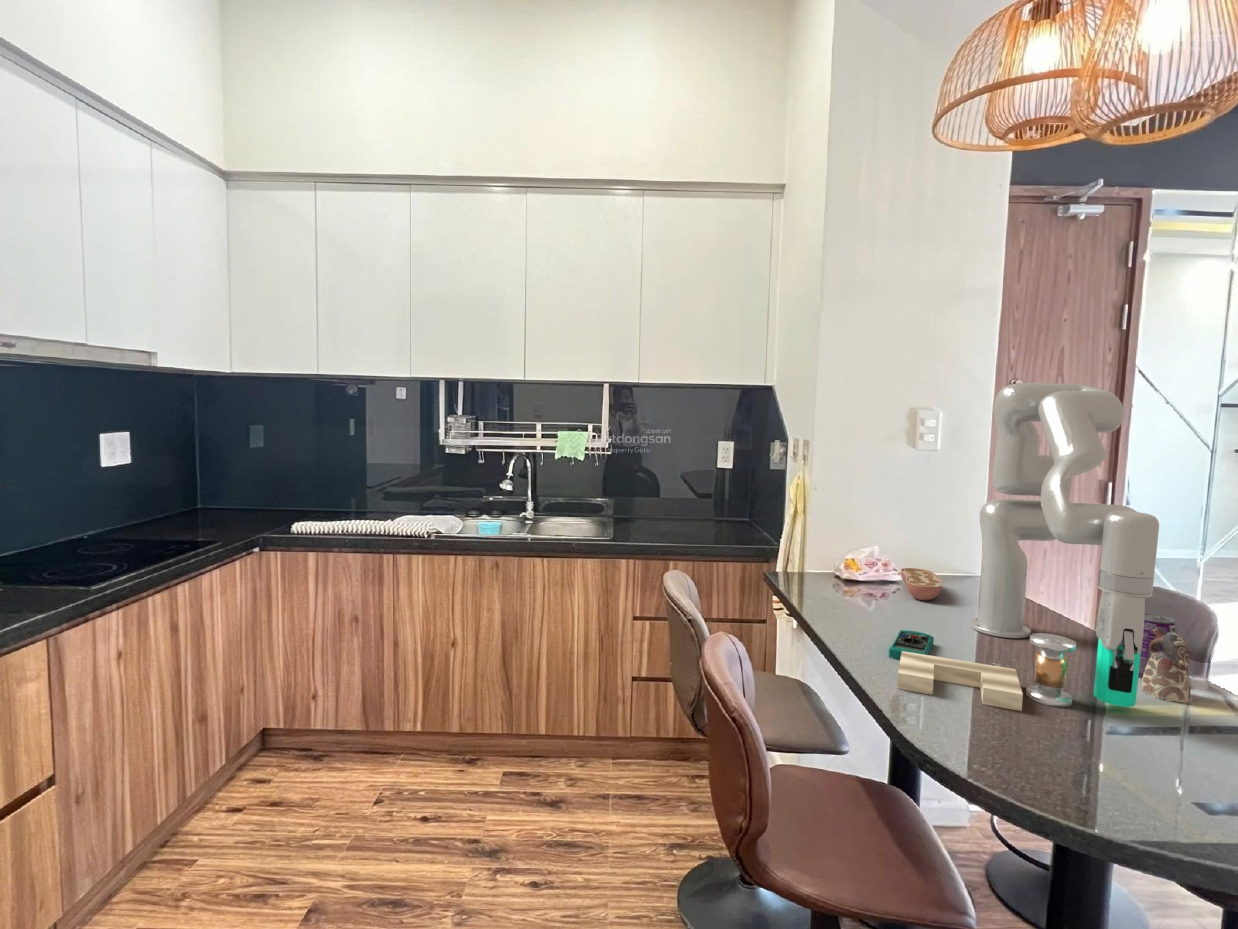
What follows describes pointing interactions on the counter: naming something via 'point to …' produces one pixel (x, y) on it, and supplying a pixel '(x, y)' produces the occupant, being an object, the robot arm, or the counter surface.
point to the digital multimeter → (911, 643)
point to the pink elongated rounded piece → (921, 583)
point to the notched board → (961, 678)
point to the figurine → (1168, 668)
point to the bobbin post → (1051, 670)
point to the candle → (1103, 677)
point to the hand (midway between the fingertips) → (1115, 683)
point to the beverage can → (1151, 624)
